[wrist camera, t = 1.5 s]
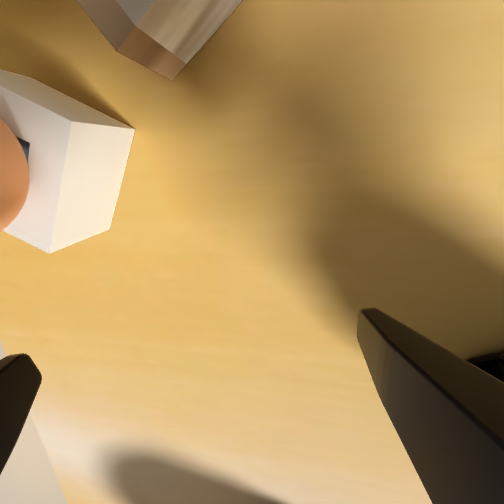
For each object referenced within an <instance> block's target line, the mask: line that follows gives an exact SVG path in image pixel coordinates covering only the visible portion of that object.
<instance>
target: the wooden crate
mask: <svg viewBox="0 0 504 504" xmlns="http://www.w3.org/2000/svg"><path fill="white" fill-rule="evenodd" d="M76 1H77V2H78V3H79V5H80V6H81V7H82V8H83V10H84V11H85V12H86V13H87V15H88V16H89V17H90V18H91V20H92V21H93V22H94V23H95V25H96V26H97V27H98V28H99V30H100V31H101V32H102V34H103V35H104V36H105V37H106V39H107V40H108V41H109V42H110V44H111V45H112V46H113V47H114V49H115V50H116V51H117V52H119V53H121V54H123V55H125V56H126V57H128V58H130V59H132V60H134V61H136V62H138V63H140V64H141V65H143V66H145V67H147V68H149V69H151V70H153V71H155V72H156V73H158V74H160V75H162V76H164V77H166V78H168V79H170V80H171V81H172V80H173V79H174V78H175V77H176V76H177V75H178V74H179V72H180V71H181V70H182V69H183V68H184V67H185V66H186V65H187V63H188V62H189V61H190V60H191V59H192V58H193V57H194V55H195V54H196V53H197V52H198V51H199V50H200V49H201V48H202V46H203V45H204V44H205V43H206V42H207V41H208V40H209V38H210V37H211V36H212V35H213V34H214V33H215V32H216V30H217V29H218V28H219V27H220V26H221V25H222V24H223V23H224V21H225V20H226V19H227V18H228V17H229V16H230V15H231V13H232V12H233V11H234V10H235V9H236V8H237V7H238V6H239V4H240V3H241V2H242V1H243V0H76Z"/></svg>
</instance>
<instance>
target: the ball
mask: <svg viewBox="0 0 504 504" xmlns="http://www.w3.org/2000/svg"><path fill="white" fill-rule="evenodd" d="M29 184H30V174H29V167H28V163H27V159H26V157H25V154H24V151H23V149H22V147H21V145H20V143H19V141H18V140H17V138H16V136H15V135H14V133H13V132H12V131H11V129H10V128H9V127H8V126H7V125H6V123H5V122H4V121H3V120H2V119H1V118H0V232H1V231H2V230H3V229H5V228H6V227H7V226H8V225H9V224H10V223H11V222H12V221H13V220H14V219H15V218H16V217H17V216H18V214H19V212H20V211H21V209H22V207H23V206H24V204H25V201H26V199H27V194H28V190H29Z"/></svg>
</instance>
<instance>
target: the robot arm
mask: <svg viewBox="0 0 504 504" xmlns="http://www.w3.org/2000/svg"><path fill="white" fill-rule="evenodd" d="M357 338H358V342H359V344H360V347H361V350H362V352H363V355H364V358H365V360H366V363H367V366H368V368H369V371H370V374H371V376H372V379H373V382H374V384H375V387H376V389H377V392H378V394H379V397H380V399H381V401H382V403H383V405H384V407H385V409H386V411H387V413H388V415H389V417H390V419H391V421H392V423H393V425H394V427H395V429H396V431H397V433H398V435H399V437H400V439H401V441H402V443H403V445H404V447H405V449H406V451H407V453H408V455H409V457H410V459H411V461H412V463H413V465H414V467H415V469H416V471H417V473H418V475H419V477H420V479H421V481H422V483H423V485H424V487H425V489H426V491H427V493H428V495H429V497H430V499H431V501H432V503H433V504H504V352H501V353H496V354H492V355H487V356H482V357H477V358H473V359H469V360H467V361H466V360H464V359H462V358H460V357H459V356H457V355H455V354H454V353H452V352H450V351H448V350H447V349H445V348H443V347H442V346H440V345H438V344H436V343H435V342H433V341H431V340H430V339H428V338H426V337H424V336H423V335H421V334H419V333H418V332H416V331H414V330H412V329H411V328H409V327H407V326H406V325H404V324H402V323H400V322H399V321H397V320H395V319H394V318H392V317H390V316H388V315H387V314H385V313H383V312H382V311H380V310H378V309H376V308H368V309H361V310H360V311H359V313H358V324H357ZM41 380H42V376H41V373H40V371H39V370H38V368H37V367H36V365H35V364H34V362H33V361H32V359H31V358H30V356H29V355H27V354H24V353H22V354H14V355H9V356H6V357H5V358H3V359H1V360H0V474H1V472H2V470H3V468H4V466H5V464H6V463H7V461H8V459H9V457H10V455H11V453H12V451H13V448H14V446H15V444H16V442H17V440H18V438H19V435H20V433H21V431H22V428H23V426H24V423H25V421H26V418H27V416H28V413H29V411H30V409H31V406H32V404H33V401H34V399H35V396H36V394H37V392H38V389H39V387H40V384H41Z"/></svg>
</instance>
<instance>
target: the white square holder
mask: <svg viewBox="0 0 504 504" xmlns="http://www.w3.org/2000/svg"><path fill="white" fill-rule="evenodd" d="M0 118H1V119H2V120H3V121H4V122H5V123H6V125H7V126H8V127H9V128H10V129H11V131H12V132H13V133H14V135H15V136H16V138H17V140H18V141H19V143H20V145H21V147H22V149H23V151H24V154H25V157H26V159H27V163H28V167H29V174H30V184H29V190H28V194H27V199H26V201H25V204H24V206H23V207H22V209H21V211H20V212H19V214H18V216H17V217H16V218H15V219H14V220H13V221H12V222H11V223H10V224H9V225H8V226H7V227H6V228H5V229H3V231H5V232H7V233H9V234H11V235H13V236H15V237H17V238H19V239H21V240H23V241H25V242H27V243H29V244H31V245H33V246H35V247H37V248H39V249H41V250H43V251H45V252H47V253H49V254H50V253H52V252H55V251H57V250H60V249H62V248H64V247H67V246H69V245H72V244H74V243H77V242H79V241H82V240H84V239H87V238H89V237H92V236H94V235H96V234H99V233H101V232H104V231H106V230H109V229H110V226H111V222H112V218H113V214H114V210H115V207H116V203H117V199H118V195H119V191H120V187H121V183H122V179H123V175H124V172H125V168H126V164H127V160H128V156H129V152H130V148H131V144H132V141H133V137H134V133H135V129H134V128H132V127H130V126H128V125H126V124H124V123H122V122H120V121H118V120H116V119H114V118H112V117H110V116H108V115H106V114H104V113H102V112H100V111H98V110H96V109H94V108H92V107H90V106H88V105H86V104H84V103H82V102H80V101H78V100H76V99H74V98H72V97H70V96H68V95H66V94H64V93H62V92H60V91H58V90H56V89H54V88H52V87H50V86H48V85H46V84H44V83H42V82H40V81H38V80H36V79H34V78H31V77H28V76H24V75H20V74H17V73H13V72H9V71H6V70H2V69H0Z"/></svg>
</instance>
